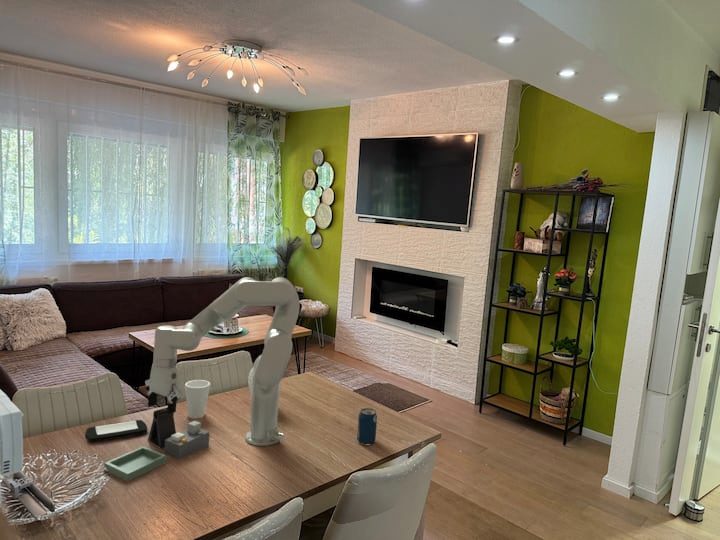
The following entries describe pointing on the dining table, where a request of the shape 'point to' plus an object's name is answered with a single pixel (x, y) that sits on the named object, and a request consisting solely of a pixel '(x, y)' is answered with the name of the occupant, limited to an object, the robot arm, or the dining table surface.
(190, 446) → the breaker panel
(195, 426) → the block
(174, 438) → the block
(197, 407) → the foam cup
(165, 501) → the dining table surface
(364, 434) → the soda can
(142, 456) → the tray
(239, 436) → the dining table surface
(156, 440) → the phone stand
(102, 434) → the light switch
